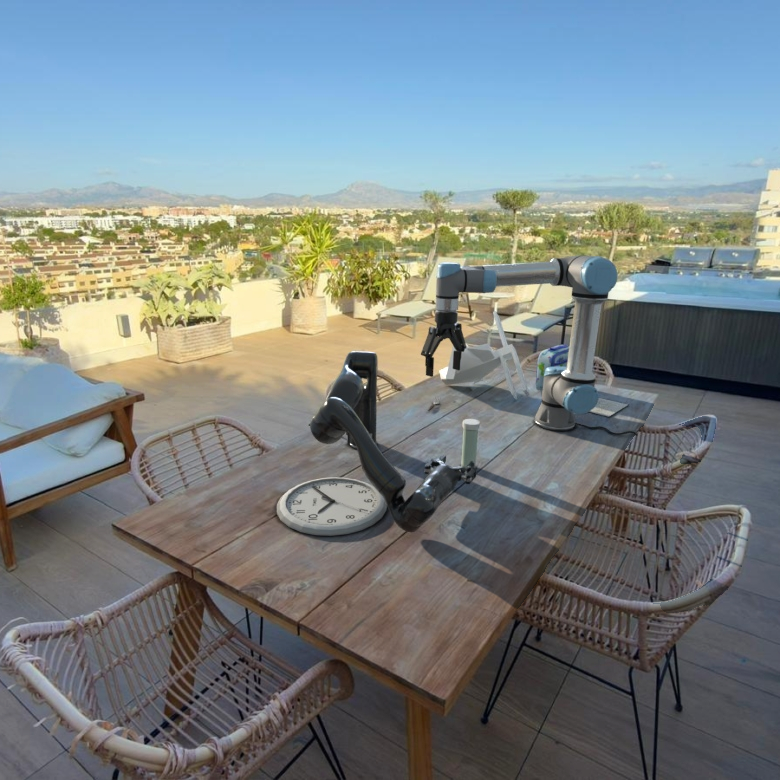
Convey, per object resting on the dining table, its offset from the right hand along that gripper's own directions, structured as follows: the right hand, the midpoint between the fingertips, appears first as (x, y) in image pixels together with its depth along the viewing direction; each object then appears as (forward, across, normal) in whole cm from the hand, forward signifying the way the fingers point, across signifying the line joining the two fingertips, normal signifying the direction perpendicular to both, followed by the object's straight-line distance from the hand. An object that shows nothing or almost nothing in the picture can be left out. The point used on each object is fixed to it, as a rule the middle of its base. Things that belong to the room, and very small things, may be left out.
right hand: (443, 372), depth 179 cm
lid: (+10, +9, +20) cm, 24 cm away
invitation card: (+25, -82, +19) cm, 88 cm away
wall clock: (+26, +56, +12) cm, 62 cm away
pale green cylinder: (+26, +9, +20) cm, 34 cm away
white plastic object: (+25, -57, -28) cm, 68 cm away
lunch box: (+25, -90, -7) cm, 93 cm away
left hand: (+19, +18, +24) cm, 36 cm away
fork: (+26, -26, -27) cm, 45 cm away
